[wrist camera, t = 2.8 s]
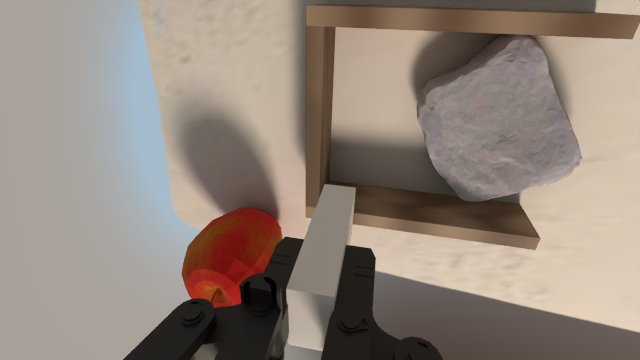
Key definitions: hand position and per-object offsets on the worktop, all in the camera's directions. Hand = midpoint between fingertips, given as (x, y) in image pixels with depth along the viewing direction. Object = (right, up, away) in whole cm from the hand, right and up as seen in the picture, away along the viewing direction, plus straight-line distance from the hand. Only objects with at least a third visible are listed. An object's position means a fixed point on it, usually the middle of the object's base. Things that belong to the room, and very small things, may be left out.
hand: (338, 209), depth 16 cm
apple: (-8, -3, +22) cm, 24 cm away
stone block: (+13, +6, +12) cm, 19 cm away
